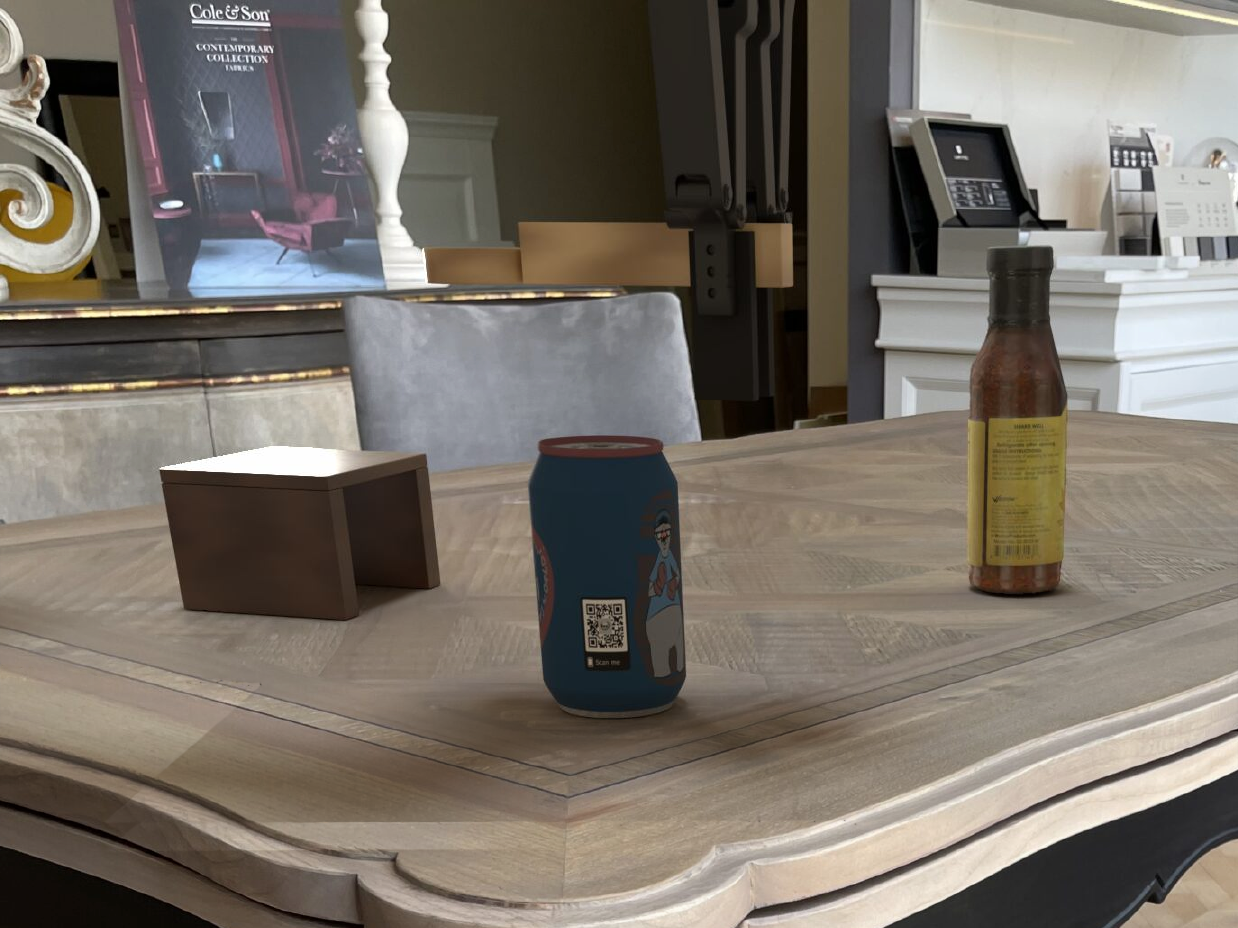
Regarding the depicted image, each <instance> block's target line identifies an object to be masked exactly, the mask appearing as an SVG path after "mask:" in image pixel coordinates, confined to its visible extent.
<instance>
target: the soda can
mask: <svg viewBox="0 0 1238 928" xmlns="http://www.w3.org/2000/svg"><path fill="white" fill-rule="evenodd" d="M537 451H538V455H537V457H536V460H535V462H534V465H533V468H532V470H531V473H530V475H529V478H528V481H527V493H528V495H527V496H528V506H529V517H530V519H529V520H530V531H531V541H532V542H531V545H532V555H533V556H532V557H533V569H534V580H535V581H534V583H535V594H536V605H537V618H538V620H537V621H538V630H539V644H540V655H541V656H540V657H541V667H542V679H543V682H544V684H545V686H546V688H547V689H548V691H549V693H550V694H551V696H552V697H553V699H554V700H555V701H556V703H557V705H558V706H559V707H560V709H561V710H563V712H566V713H568V714H571V715H575V716H579V717H585V718H593V719H630V718H638V717H646V716H649V715H650V716H651V715H655V714H658V713H662V712H665V711H667V710H669V709H670V708H671V707H672V706H673V705H674V703H675V702H676V699H677V698H678V695H679V694H680V691H682V688H683V686H684V684H685V681H686V678H687V662H686V642H685V641H686V640H685V638H686V637H685V615H684V596H683V594H684V592H683V571H682V570H683V569H682V549H681V527H680V524H681V523H680V506H679V501H680V500H679V483H678V482H679V481H678V480H677V477H676V475H675V474H674V471H673V469H672V468H671V466H670V463H669V462H668V460H667V458H666V456H665V454H664V452H663V451H664V442H663V441H662V440H661V439H659V438H654V437H653V438H652V437H646V436H635V435H609V434H607V435H605V434H604V435H603V434H601V435H600V434H597V435H572V436H571V435H570V436H559V437H558V436H557V437H549V438H544V439H541V440H539V441H538V442H537Z"/></svg>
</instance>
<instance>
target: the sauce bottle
mask: <svg viewBox="0 0 1238 928" xmlns="http://www.w3.org/2000/svg"><path fill="white" fill-rule="evenodd" d="M985 258H986V260H985V262H986V263H985V266H986V267H985V270H986V272H987V275H988V277H989V278H988V279H989V286H988V287H989V290H988V293H989V294H988V299H989V301H988V316H987V318H986V320H987V323H988V324H987V330H986V335H985V336H984V340H983V342H982V345H981V347H980V349H979V351H978V352H977V354H976V356H975V358H974V360H973V361H972V364H971V367H970V374H969V385H968V386H969V388H968V389H969V417H968V419H967V563H968V564H969V565H970V568H969V571H968V581H969V584H970V587H971V588H974V589H977V590H980V591H983V592H985V593H989V592H990V594H992V593H993V594H1000V593H1004V594H1003V595H1024V594H1023V593H1032V594H1037V592H1038V593H1043V592H1049V591H1053V590H1055V589H1056V588H1058V587H1059V585H1060V582H1061V574H1062V564H1063V560H1064V554H1065V553H1064V550H1065V549H1064V547H1065V544H1064V543H1065V538H1064V537H1065V520H1066V519H1065V516H1066V486H1067V449H1068V448H1067V447H1068V444H1067V441H1068V440H1067V439H1068V438H1067V437H1068V436H1067V435H1068V399H1069V398H1068V392H1067V391H1068V390H1067V387H1066V383H1065V380H1064V375H1063V370H1062V366H1061V362H1060V359H1059V353H1058V350H1057V345H1056V342H1055V336H1054V333H1053V329H1052V325H1051V315H1050V296H1051V295H1050V294H1051V293H1050V292H1051V283H1050V282H1051V276H1052V273H1053V270H1054V267H1055V260H1054V247H1053V246H1052V245H1050V244H1045V245H1044V244H1042V245H1041V244H1040V245H1038V244H1037V245H1036V244H1035V245H998V246H989V247H988V248H986V257H985ZM1052 589H1053V590H1052ZM1048 590H1049V591H1048Z"/></svg>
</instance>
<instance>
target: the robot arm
mask: <svg viewBox="0 0 1238 928" xmlns="http://www.w3.org/2000/svg"><path fill="white" fill-rule="evenodd" d="M795 2H796V0H646V6H647V16H648V28H649V37H650V49H651V58H652V66H653V67H652V69H653V79H654V80H653V81H654V89H655V100H656V110H657V121H658V122H657V123H658V130H659V131H658V133H659V141H660V152H661V162H662V173H663V184H664V197H665V201H666V202H665V203H666V205H667V208H668V209H669V210H664V212H663V213H664V220H665V223H666V224H667V226H668V228H670V229H693V231H688V235H689V260H690V286H689V287H690V307H691V310H690V311H691V331H692V356H693V357H692V358H693V383H694V400H695V401H697V400H698V401H699V400H701V401H703V400H704V401H731V402H732V401H733V402H735V401H736V402H756V401H759V400H760V398H771V397H774V396H775V395H776V393H775V391H776V390H775V347H774V346H775V342H774V338H775V337H774V336H775V335H774V299H773V298H774V293H773V292H774V290H773V289H774V288H764V287H756V266H755V231H735V229H743V228H744V225H745V223H790V224H793V223H792V222H793V212H790V211H789V212H786V210H787V208H788V203H789V162H790V161H789V159H790V157H789V155H790V123H791V120H790V118H791V117H790V116H791V85H792V84H791V83H792V82H791V80H792V51H793V50H792V49H793V48H792V46H793V44H792V43H793V17H794V9H795Z"/></svg>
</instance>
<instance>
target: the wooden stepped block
mask: <svg viewBox="0 0 1238 928" xmlns="http://www.w3.org/2000/svg"><path fill="white" fill-rule="evenodd" d="M517 225H518V237H519V246H518V247H516V246H515V247H512V246H511V247H510V246H508V247H507V246H424V247H423V248H422V256H423V263H424V273H425V282H426V283H427V284H432V285H548V286H549V285H550V286H551V285H555V286H557V285H558V286H559V285H560V286H561V285H563V286H622V287H623V286H627V287H628V286H629V287H632V286H633V287H634V286H635V287H691V286H690V260H689V235H688V231H693V229H670V228H668V226H667V224H666V222H604V221H603V222H600V221H599V222H593V221H592V222H583V221H581V222H580V221H579V222H575V221H574V222H569V221H565V222H564V221H518V223H517ZM735 231H755V266H756V287H764V288H773V289H774V288H776V289H777V288H778V289H782V288H791V287H794V256H793V253H794V251H793V250H794V247H793V223H791V224H790V223H745V225H744V228H743V229H735Z"/></svg>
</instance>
